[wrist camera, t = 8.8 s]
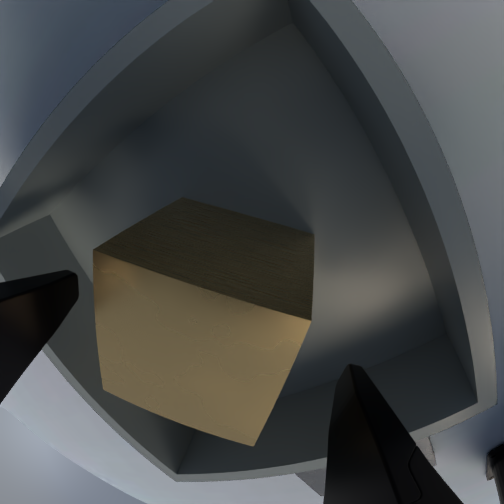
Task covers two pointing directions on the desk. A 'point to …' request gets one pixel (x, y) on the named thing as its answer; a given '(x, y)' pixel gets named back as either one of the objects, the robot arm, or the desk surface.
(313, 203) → the bin
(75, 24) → the desk surface
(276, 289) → the wooden block
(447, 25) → the desk surface
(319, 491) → the metal ball pedestal
